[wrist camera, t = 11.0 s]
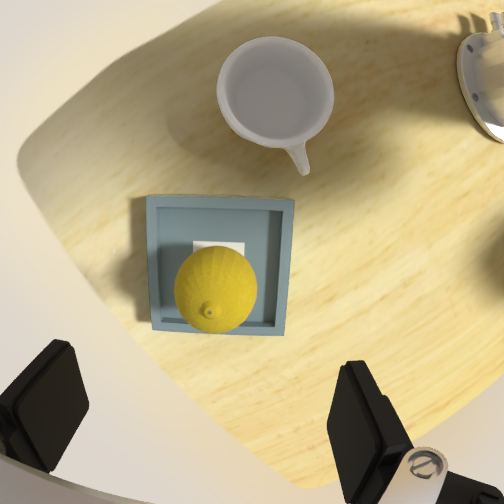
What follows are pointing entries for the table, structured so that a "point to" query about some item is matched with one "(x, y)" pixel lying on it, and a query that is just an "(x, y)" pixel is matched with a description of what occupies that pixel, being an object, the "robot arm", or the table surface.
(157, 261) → the tray
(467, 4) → the table surface
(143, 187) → the table surface
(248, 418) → the table surface
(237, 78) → the teacup
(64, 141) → the table surface
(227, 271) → the lemon
